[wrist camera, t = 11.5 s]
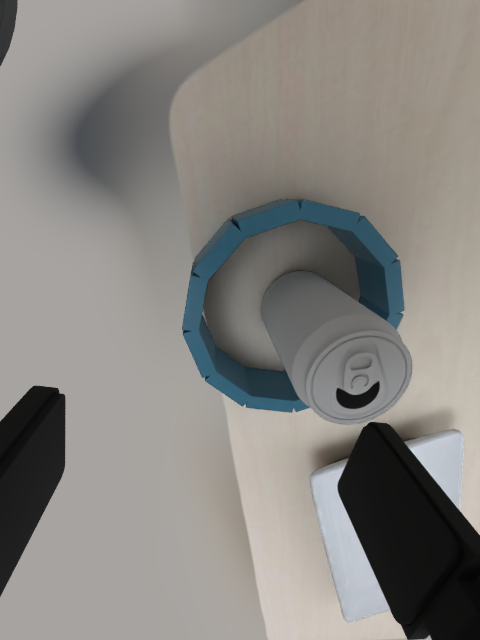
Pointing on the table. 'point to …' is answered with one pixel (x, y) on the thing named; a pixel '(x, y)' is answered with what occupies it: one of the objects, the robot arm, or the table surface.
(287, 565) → the table surface
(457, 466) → the tray
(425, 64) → the table surface
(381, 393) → the beverage can
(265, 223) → the ring
